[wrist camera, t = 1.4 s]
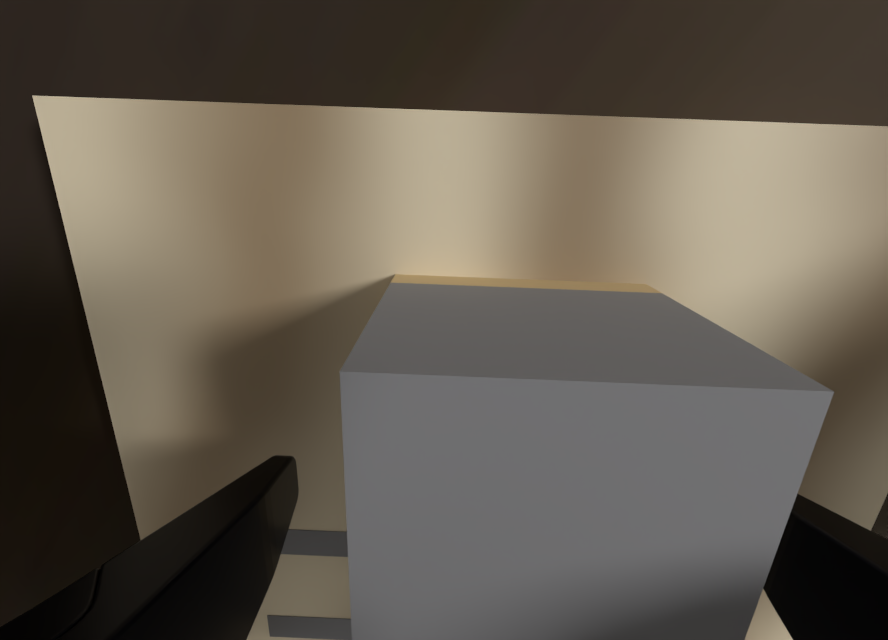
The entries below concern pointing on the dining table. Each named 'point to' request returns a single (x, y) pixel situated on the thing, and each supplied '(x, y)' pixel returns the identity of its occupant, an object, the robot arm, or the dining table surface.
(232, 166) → the plywood board
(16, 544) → the dining table surface
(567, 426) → the block
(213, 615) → the robot arm
